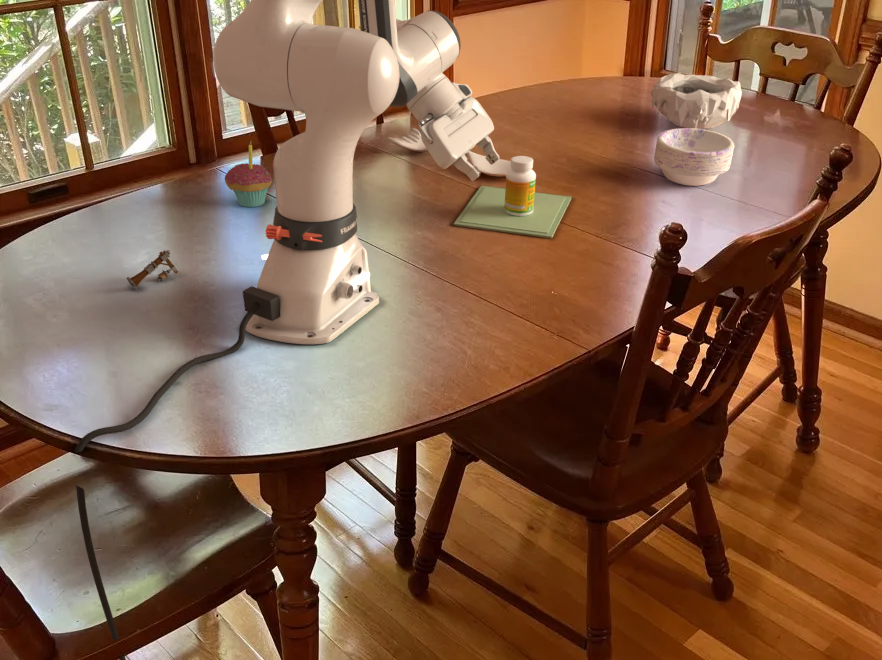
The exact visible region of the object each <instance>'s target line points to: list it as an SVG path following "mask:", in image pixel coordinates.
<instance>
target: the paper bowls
mask: <svg viewBox="0 0 882 660" xmlns="http://www.w3.org/2000/svg"><path fill="white" fill-rule="evenodd" d="M734 150H735V142H734V141H733V140H732V139H731V138H730V137H729V136H727V135H725V134H722V133H720V132H717V131H713V130H710V129H696V128H686V127H678V128H670V129H667V130H663V131H662V132H660V133H659V134H658V136H657V138H656V143H655V151H654V157H653V161H654V164H655V165H656V166H657V167H658V168H659V169H661V170H662V173H663V175H664V177H665V178H666V179H667V180H669V181H671V182H672V183H675V184H678V185H682V186H691V187H697V186H705V185H709V184H711V183H713V182H714V181H715V180H716V179H717V178H718V176H719V175H722V174H724V173H726V172H728V171H729V170H730V168H731V165H732V160H733V155H734Z"/></svg>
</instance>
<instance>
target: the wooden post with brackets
mask: <svg viewBox="0 0 882 660" xmlns="http://www.w3.org/2000/svg"><path fill="white" fill-rule="evenodd" d="M171 254H172V252H171V250H169V249H167V250H163V251H162V250H161V251H160V252H159V253H158V256H157V258H155V259H154V260H151V261H150V263H148V264H147V265H146V266H145V267H143V269H142V270H141V271H140V272H138V273H137V274H135V275H133V276H131V277H129V276H127V277H125V280H127V282H128V283H129V285H130V286H131V287H132V288H133V289H135V290H136V291H138V289H139V287H138V286H139V285H140V283H142V282H143V280H145V278H146V277H147V276H148V275H151V274H152V273H153V272H155V271H156V269H158V268H159V266H160V265H163V266H168V267H169V269H166V270H163V269H162V272H160V273H158V274H157V278H156V279H157V281H158V282H160V281H165V279H166V278H169V277H170V275H169V274H171V272H173V273H174V274H176V275H177V274H178V273H179V271H178V269H177V267H176V266H175V265H174V264H173V263H172V261H171V259H169V258H170V257H171Z"/></svg>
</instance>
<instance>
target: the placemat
mask: <svg viewBox="0 0 882 660" xmlns="http://www.w3.org/2000/svg"><path fill="white" fill-rule="evenodd" d="M505 189H506V187H498V186H491V185H480V187H479V188H478V190H476V192H475V194H473V196H472V198H470V200H469V202H467V204H466V206H465V207H464V209H463V210H462V212H461V213H460V214H459V216H458V217H457V218H456V219H455V221H454V223H453V226H455V227H461V228H462V227H463V228H470V229H476V230H477V229H478V230H484V231H485V230H486V231H493V232H499V233H508V234H515V235H523V236H529V237H536V238H542V239H543V238H545V239H553V237H554V235H555V232H556V231H557V228H558V227H559V224H560V223H561V220H562V218H563V217H564V214H565V212H566V210H567V209H568V206H569V205H570V202H571V200H572V196H570V195H562V194H561V195H560V194H553V193H545V192H538V191H537V192H536V191H535V195H534V208H533V212H532V213H531V214H530V215H526V216H513V215H510V214H508V213H506V212H505V210H504V205H505Z"/></svg>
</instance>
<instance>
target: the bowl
mask: <svg viewBox="0 0 882 660" xmlns="http://www.w3.org/2000/svg"><path fill="white" fill-rule="evenodd" d="M650 95H651V109H650V111H652V109H653V108H654V107H656V110H657V111H656V113H657V114H661V115H662V116H663V117H665V118H666V120H668V122H669V123H670V122H671V123H673V124H674V125H676V126H679V127H680V128H696V129H704V130H710V129H712V128H715V127H717V126H720V125H721V124H723V123H725V122H726V121H727V122H729V121H730V120H731V118H732V117H733V115H735V116H736V114H737V111H738V109H739V107H740V104H741V103H740V102H741V99H742V95H743V92H742V88H741V82H740V81H737V80H735V81H733V80H732V79H730V78H725V79H724V78H720V77H717V76H714V75H709V74H708V75H707V74H706V75H701V74H698V75H697V74H683V73H682V72H674V73H670V74H667V75H664V76H661V77H660V78H659V80H657V82H656V83H655V84H654V85H653V88H652V90H651V91H650Z"/></svg>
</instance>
